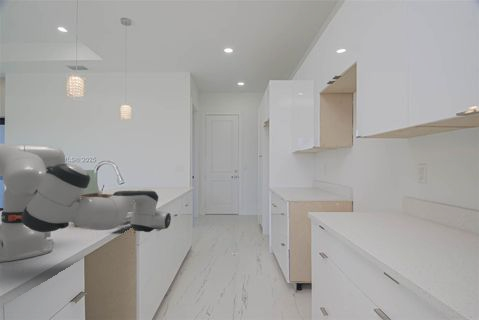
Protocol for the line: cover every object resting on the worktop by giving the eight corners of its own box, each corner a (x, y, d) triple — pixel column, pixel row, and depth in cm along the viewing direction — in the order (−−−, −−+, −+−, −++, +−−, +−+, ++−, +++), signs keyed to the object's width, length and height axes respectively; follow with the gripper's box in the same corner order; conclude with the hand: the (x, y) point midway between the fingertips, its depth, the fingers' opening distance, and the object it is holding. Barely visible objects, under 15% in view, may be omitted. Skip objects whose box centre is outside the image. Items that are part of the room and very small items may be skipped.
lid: (93, 169, 141) (92, 170, 142) (69, 170, 128) (68, 171, 128) (99, 193, 140) (98, 193, 140) (75, 196, 126) (74, 196, 126)
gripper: (124, 230, 113) (100, 227, 117) (153, 220, 133) (131, 218, 137) (124, 216, 113) (100, 214, 117) (153, 208, 133) (131, 207, 137)
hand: (117, 216), depth 127 cm, fingers closed
